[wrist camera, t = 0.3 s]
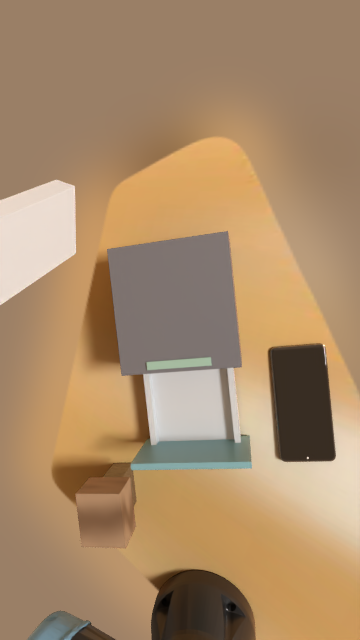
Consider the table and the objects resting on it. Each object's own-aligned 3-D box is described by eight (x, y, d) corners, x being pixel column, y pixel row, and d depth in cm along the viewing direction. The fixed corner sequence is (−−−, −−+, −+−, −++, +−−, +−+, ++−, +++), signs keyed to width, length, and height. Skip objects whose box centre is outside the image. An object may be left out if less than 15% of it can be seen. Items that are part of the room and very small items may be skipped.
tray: (249, 441, 46) (251, 468, 38) (148, 444, 49) (131, 470, 41) (238, 329, 45) (238, 334, 38) (136, 338, 48) (116, 345, 41)
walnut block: (135, 526, 45) (125, 548, 41) (95, 525, 46) (81, 546, 42) (130, 476, 44) (119, 493, 41) (89, 477, 46) (75, 493, 42)
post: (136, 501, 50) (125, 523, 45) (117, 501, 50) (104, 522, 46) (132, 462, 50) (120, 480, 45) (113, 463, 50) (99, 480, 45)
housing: (241, 356, 46) (241, 367, 38) (139, 364, 49) (121, 376, 41) (229, 242, 45) (227, 230, 38) (127, 257, 48) (106, 248, 40)
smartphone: (325, 343, 43) (336, 461, 44) (323, 342, 44) (334, 458, 45) (269, 347, 45) (280, 462, 45) (268, 346, 46) (279, 459, 46)
